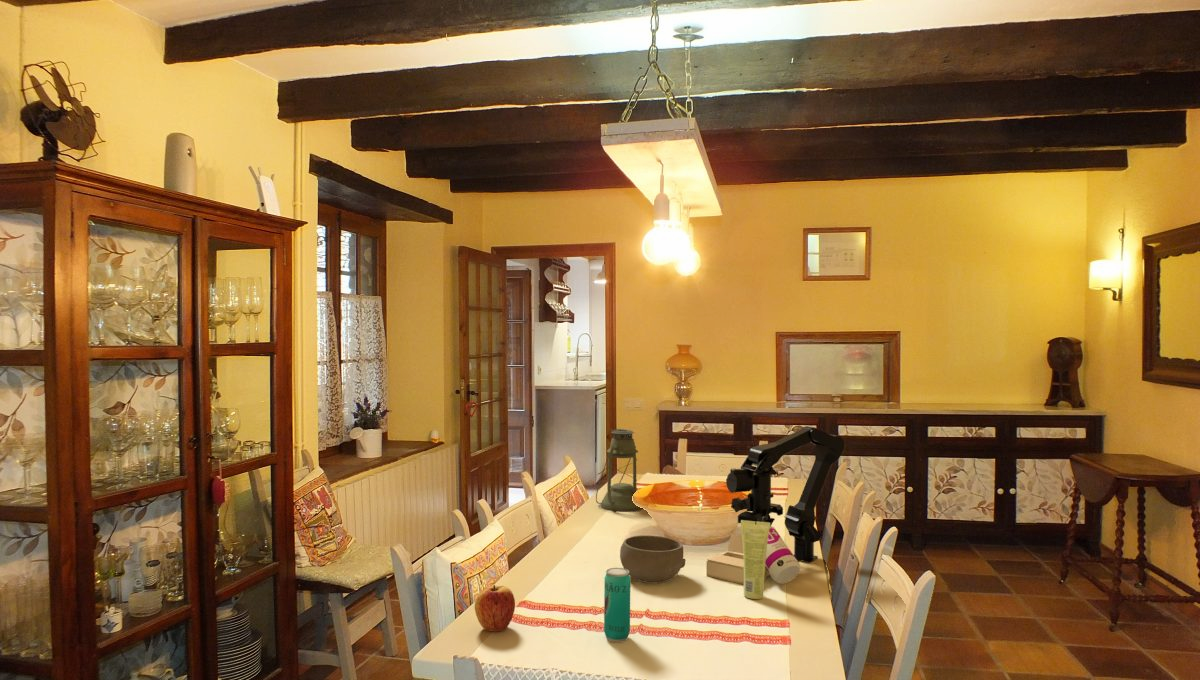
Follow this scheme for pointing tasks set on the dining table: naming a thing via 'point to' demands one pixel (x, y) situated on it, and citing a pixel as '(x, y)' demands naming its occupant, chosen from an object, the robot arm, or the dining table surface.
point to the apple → (495, 607)
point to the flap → (736, 543)
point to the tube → (754, 557)
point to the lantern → (622, 492)
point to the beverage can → (617, 604)
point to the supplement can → (780, 559)
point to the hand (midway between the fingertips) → (760, 542)
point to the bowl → (652, 558)
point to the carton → (728, 567)
